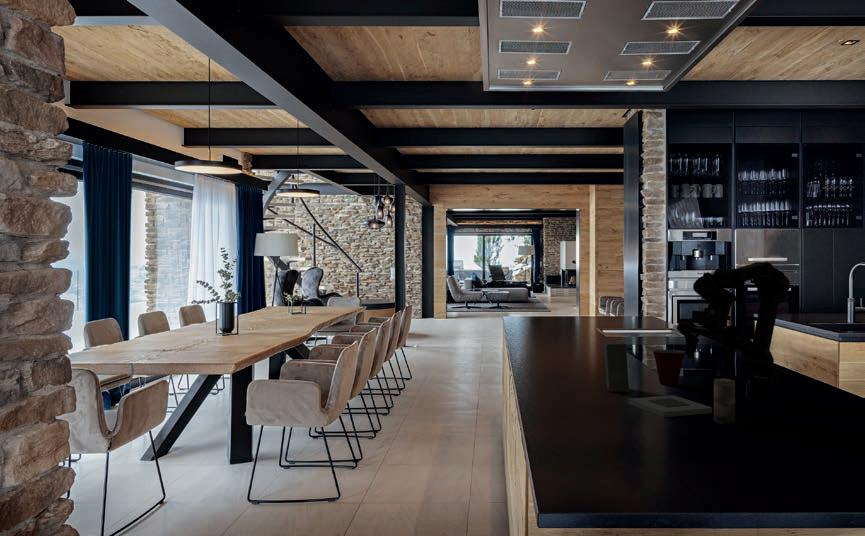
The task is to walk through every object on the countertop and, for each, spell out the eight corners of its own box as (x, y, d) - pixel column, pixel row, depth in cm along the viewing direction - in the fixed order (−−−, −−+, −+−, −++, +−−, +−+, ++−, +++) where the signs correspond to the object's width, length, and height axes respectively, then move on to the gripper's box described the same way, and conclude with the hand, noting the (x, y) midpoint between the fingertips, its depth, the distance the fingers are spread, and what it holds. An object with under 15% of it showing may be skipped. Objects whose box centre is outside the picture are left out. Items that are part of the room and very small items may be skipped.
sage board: (673, 400, 180) (673, 394, 179) (712, 413, 164) (712, 406, 164) (628, 403, 175) (628, 398, 175) (663, 417, 160) (663, 411, 160)
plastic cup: (685, 382, 206) (685, 348, 206) (686, 388, 196) (686, 352, 196) (652, 380, 210) (652, 346, 210) (651, 386, 200) (651, 351, 200)
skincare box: (629, 393, 189) (629, 344, 189) (606, 392, 191) (606, 343, 191) (626, 387, 198) (626, 340, 198) (604, 386, 199) (604, 340, 199)
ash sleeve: (733, 420, 157) (733, 379, 156) (736, 425, 152) (736, 383, 152) (712, 418, 158) (712, 378, 158) (715, 423, 153) (715, 381, 153)
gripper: (674, 295, 171) (658, 345, 167) (736, 298, 155) (721, 353, 151) (694, 311, 176) (679, 359, 172) (757, 316, 160) (742, 369, 157)
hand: (704, 360), depth 163 cm, fingers open, 9 cm apart
